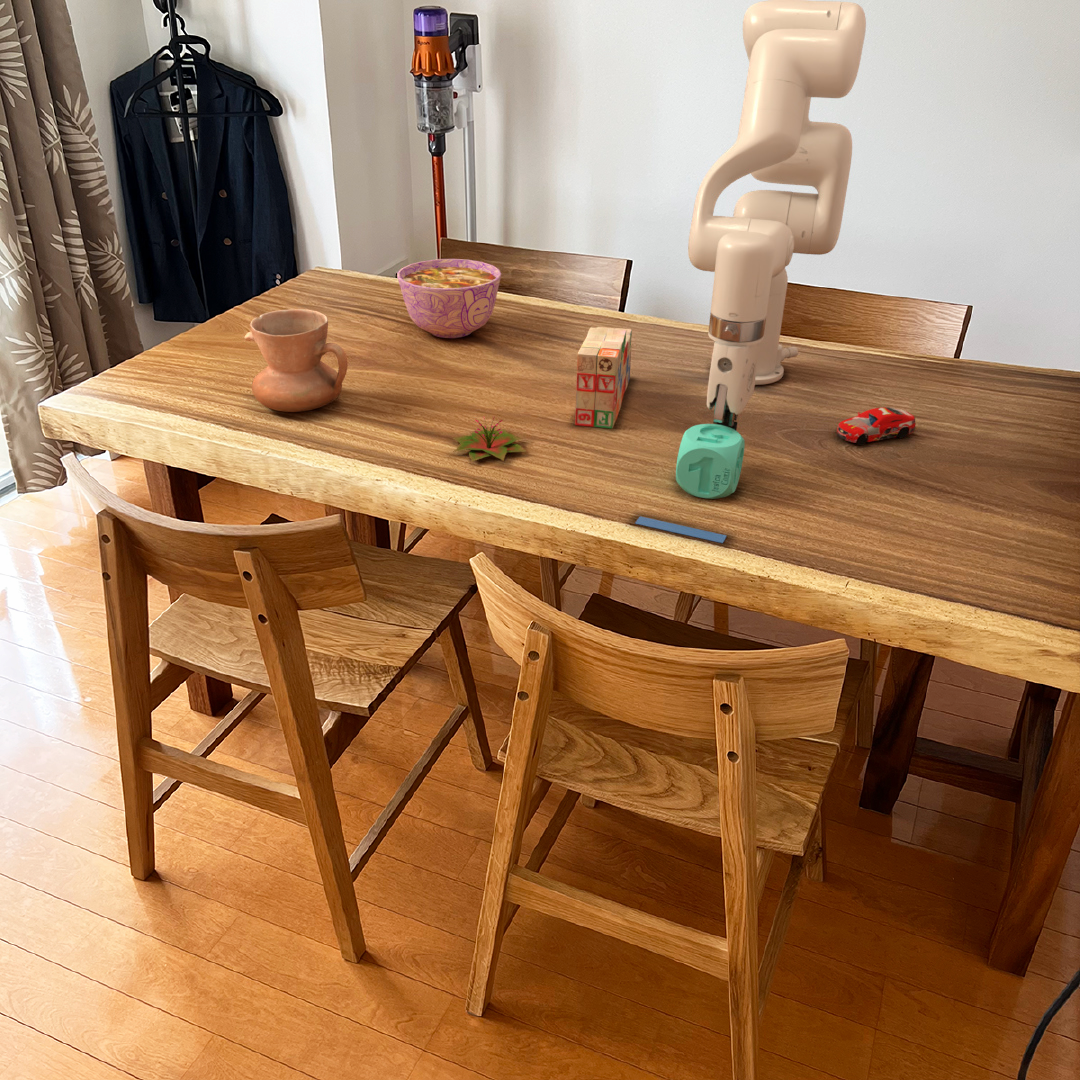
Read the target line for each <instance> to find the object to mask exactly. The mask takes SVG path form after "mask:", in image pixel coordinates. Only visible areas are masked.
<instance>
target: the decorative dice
mask: <svg viewBox="0 0 1080 1080" xmlns="http://www.w3.org/2000/svg"><path fill="white" fill-rule="evenodd" d="M745 444H746V441H745V439H744V437H743V436H742V435H741V434H740V433H739V431H738V430H734V429H732V428H730V427H727V426H723V425H718V424H713V423H700V424H695V425H692V426H691V427H689V428H688V429H686V430H685V432H684V433H683V435H682V437H681V440H680V444H679V448H678V451H677V452H678V453H677V459H676V466H675V481H676V483H677V484H678V486H679V487H680V488H681V489H682V491H684V492H685V493H686V494H688V495H691V496H693V497H696V498H699V499H700V498H701V499H705V500H706V499H707V500H717V499H723V498H727V497H728V496H731V495H733V493H735V491H736V489H737V487H738V484H739V480H740V476H741V472H742V467H743V462H744V456H745V448H746V447H745V446H746V445H745Z"/></svg>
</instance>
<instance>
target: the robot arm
mask: <svg viewBox="0 0 1080 1080" xmlns="http://www.w3.org/2000/svg"><path fill="white" fill-rule="evenodd" d="M866 19H867V18H866V14H865V11H864V9H863V7H862V6H861V5H860V4H859V3H855V2H850V1H833V0H831V1H830V0H827V1H826V0H762V1H758V2H755V3H754V4H751V5H750V6H749V7H748V8H747V9H746V11H745V13H744V16H743V20H742V39H743V45H744V49H745V51H746V56H747V58H748V59H747V60H748V62H749V63H748V70H747V76H746V81H745V88H744V95H743V102H742V108H741V114H740V119H739V125H738V126H739V127H738V132H737V138H736V140H735V142H734V143H733V145H732V146H731V147H730V148H729V149H727V150H726V151H725V152H724V153H723V154H722V155H721V156H719V158H718V159H717V160H716V161H715V162H714V163H713V164H712V166H710V168H709V170H707V172H706V173H705V175H704V177H703V179H702V180H701V183H700V185H699V187H698V190H697V192H696V196H695V200H694V204H693V211H692V217H691V223H690V229H689V235H688V242H687V243H688V244H687V245H688V246H687V255H688V259H689V262H690V263H691V265H692V266H693V267H694V268H696V269H698V270H699V271H702V272H710V273H714V276H713V285H712V295H711V303H710V304H711V305H710V314H709V323H708V334H707V335H708V337H709V339H711V340H712V341H713V342H714V343H713V349H712V354H711V360H710V367H709V376H708V382H707V392H706V407H707V409H708V410H709V411H712V409H713V408H714V409H713V422H712V424H718V425H723V426H727V427H730V428H732V429H734V430H736V431H738V430H737V429H738V421H737V420H738V418H739V414H741V413H742V412H743V411H744V410H745V408H746V407H747V404H748V403H749V401H750V400H751V398H752V397H753V394H754V392H755V386H761V385H762V386H763V385H769V384H773V383H775V382H776V383H777V382H778V381H780V380H781V379H782V377H783V376H784V371H785V370H784V368H785V367H784V366H783V365H782V364H781V362H784V361H785V359H792V358H796V357H798V355H799V350H798V348H797V346H789V347H785V348H784V346H783V345H782V344H780V337H781V330H782V324H783V317H784V310H785V303H786V296H787V290H788V282H789V279H788V278H789V277H788V272H787V270H786V267H788V266H789V265H790V263H791V261H792V258H793V256H794V255H793V254H801V255H818V256H819V255H821V256H822V255H826V254H829V253H831V252H832V251H833V250H834V249H835V247H836V245H837V243H838V240H839V237H840V233H841V227H842V221H843V216H844V209H845V203H846V196H847V191H848V185H849V179H850V178H849V177H850V171H851V165H852V157H853V138H852V134H851V132H850V130H849V128H848V127H846V126H845V125H843V124H841V123H837V122H827V121H826V122H824V121H812V120H810V118H809V117H810V116H809V114H810V107H811V100H812V98H822V99H841V98H844V97H846V96H847V95H849V93H850V92H851V91H852V89H853V87H854V85H855V82H856V81H857V80H856V79H857V77H858V72H859V69H860V64H861V59H862V54H863V48H864V44H865V43H864V42H865V37H866V28H867V20H866ZM748 175H751V177H752V178H754V179H755V180H757V181H759V182H763V183H769V184H779V185H790V186H791V185H792V186H802V187H803V186H807V187H813V188H814V189H815V190H816V191H817V193H812V192H811V193H810V192H797V191H796V192H795V191H789V190H776V189H775V190H774V189H773V190H772V189H757V190H756V189H755V190H751V191H748V192H746V193H744V194H742V195H741V196H740V197H739V198H738V199H737V201H736V203H735V205H734V208H733V215H732V216H725V215H714V213H715V212H714V211H715V207H716V204H717V201H718V199H719V197H720V195H721V194H722V193H723V192H724V191H725V190H726V188H728V187H729V186H730V185H731V184H733V183H734V182H737V180H740V179H741V178H743V177H746V176H748Z"/></svg>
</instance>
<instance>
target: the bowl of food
mask: <svg viewBox="0 0 1080 1080" xmlns="http://www.w3.org/2000/svg"><path fill="white" fill-rule="evenodd" d="M396 274H397V276H396V277H397V281H398V284H399V288H400V291H401V294H402V299H403V301H404V305H405V308H406V309H407V310H406V311H407V313H408V316H409V318H410V320H412V322H413V323H414V324H415V325H416V326H417V327H418V328H420V329H422V330H424V332H428V333H430V334H431V335H433V336H435V337H438V338H443V339H458V338H463V337H467V336H469V335H470V334H471V333H473V332H475V331H477V330H478V329H481V328H482V327H484V326H485V325H486V324H487V322H488V321H489V319H490V318H491V316H492V315H493V312H494V308H495V306H496V302H497V301H496V300H497V297H498V291H499V287H500V283H501V279H502V273H501V270H500V269H499V268H498V267H496V266H495V265H493V264H490V263H486V262H483V261H480V260H474V259H473V260H472V259H464V258H463V259H462V258H437V259H436V258H435V259H430V260H429V259H428V260H422V261H417V262H414V263H410V264H407V265H405V266H404V267H402V268H400V269H399V270H398V271H397V272H396Z"/></svg>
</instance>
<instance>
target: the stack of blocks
mask: <svg viewBox="0 0 1080 1080" xmlns="http://www.w3.org/2000/svg"><path fill="white" fill-rule="evenodd" d="M632 334H633V329H632V328H624V327H622V328H621V327H608V326H607V327H605V326H597V327H593V326H591V327H589V328H588V332H587V334H586V337H585V338H584V339H585V340H583V342H582V344H581V346H580V348H579V350H578V352H577V357H576V358H577V360H576V361H577V362H576V388H575V390H576V398H575V399H576V400H575V413H574V414H575V417H574V421H575V422H574V425H575V426H580V427H581V426H582V427H592V428H593V427H595V428H602V429H613V428H614V425H615V423H616V421H617V419H618V416H619V412H620V410H621V407H622V403H623V399H624V396H625V392H626V391H627V388H628V385H629V382H630V379H631V364H632V363H631V361H632V336H633V335H632Z"/></svg>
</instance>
